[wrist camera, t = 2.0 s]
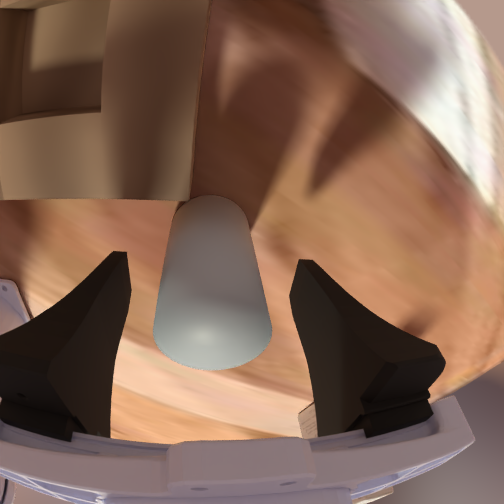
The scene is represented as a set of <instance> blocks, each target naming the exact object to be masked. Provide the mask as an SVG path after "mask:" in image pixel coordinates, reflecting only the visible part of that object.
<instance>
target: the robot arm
mask: <svg viewBox="0 0 504 504" xmlns="http://www.w3.org/2000/svg"><path fill="white" fill-rule="evenodd" d="M131 291H132V289H131V282H130V275H129V267H128V259H127V252H120V251H113V252H112V253H111V254H110V255H109V256H107V257H106V258H105V259H104V260H103V261H102V262H101V263H100V264H99V265H98V266H97V267H96V268H95V269H94V270H93V271H92V272H91V273H90V274H89V275H88V276H87V277H86V278H85V279H84V280H83V281H82V282H81V283H80V284H79V285H78V286H77V287H75V288H74V289H73V290H72V291H71V292H70V293H69V294H68V295H66V296H65V297H64V298H63V299H61V300H60V301H59V302H57V303H56V304H55V305H53V306H52V307H50V308H49V309H47V310H46V311H44V312H43V313H41V314H40V315H38V316H37V317H35V318H33V319H32V320H31V319H30V317H29V315H28V312H27V310H26V308H25V305H24V303H23V301H22V298H21V296H20V293H19V291H18V288H17V286H16V284H15V283H14V282H13V281H11V280H5V279H0V504H13V502H14V498H15V493H16V483H18V484H21V485H23V486H26V487H28V488H31V489H33V490H36V491H39V492H41V493H44V494H47V495H50V496H53V497H56V498H59V499H62V500H65V501H69V502H72V503H76V504H353V503H352V500H353V499H356V498H360V497H363V496H366V495H369V494H372V493H374V492H377V491H380V490H383V489H385V488H388V487H391V486H393V485H396V484H398V483H401V482H403V481H406V480H408V479H410V478H413V477H415V476H417V475H420V474H422V473H424V472H426V471H429V470H431V469H433V468H435V467H437V466H439V465H441V464H443V463H445V462H446V461H448V460H449V459H451V458H452V457H454V456H455V455H457V454H458V453H459V452H461V451H462V450H464V449H465V448H466V447H468V446H469V445H471V444H472V443H474V442H475V438H474V436H473V433H472V431H471V429H470V427H469V425H468V423H467V420H466V418H465V416H464V414H463V412H462V410H461V408H460V406H459V404H458V402H457V400H456V398H455V396H450V397H447V398H444V399H441V400H438V401H436V402H434V403H432V404H431V405H430V404H429V402H428V400H427V399H429V398H430V393H429V391H428V388H429V387H430V386H431V385H432V384H433V383H434V382H435V381H436V379H437V378H438V377H439V376H440V375H441V373H442V372H443V370H444V368H445V364H446V361H445V359H444V357H443V356H442V354H441V352H440V350H439V349H438V347H437V345H435V344H432V343H430V342H427V341H425V340H422V339H419V338H417V337H415V336H413V335H411V334H408V333H406V332H404V331H402V330H401V329H399V328H397V327H395V326H393V325H392V324H390V323H388V322H387V321H385V320H383V319H382V318H380V317H379V316H377V315H376V314H374V313H373V312H371V311H370V310H369V309H367V308H366V307H364V306H363V305H362V304H361V303H359V302H358V301H357V300H356V299H355V298H353V297H352V296H351V295H350V294H349V293H348V292H346V291H345V290H344V289H343V288H342V287H341V286H340V285H339V284H338V283H337V282H335V281H334V280H333V279H332V278H331V277H330V276H329V275H328V274H327V273H326V272H325V271H324V270H323V269H322V268H321V267H320V266H319V265H318V264H317V263H315V262H314V261H313V260H305V259H299V261H298V265H297V268H296V272H295V276H294V280H293V283H292V287H291V291H290V294H289V297H290V304H291V309H292V315H293V318H294V322H295V325H296V328H297V331H298V334H299V337H300V340H301V343H302V346H303V350H304V353H305V356H306V359H307V363H308V368H309V373H310V378H311V384H312V390H313V397H314V404H315V413H316V422H317V434H318V437H316V438H309V439H302V438H299V437H277V438H265V439H249V440H216V441H205V440H200V441H184V442H181V443H177V444H174V445H173V444H158V443H146V442H136V441H127V440H119V439H112V438H110V416H111V395H112V383H113V374H114V366H115V359H116V354H117V350H118V346H119V343H120V339H121V335H122V332H123V328H124V324H125V321H126V317H127V314H128V310H129V304H130V297H131Z"/></svg>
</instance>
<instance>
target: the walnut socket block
mask: <svg viewBox="0 0 504 504" xmlns="http://www.w3.org/2000/svg"><path fill="white" fill-rule="evenodd" d="M211 4H212V0H0V200H23V199H137V200H169V201H189V198H190V191H191V184H192V178H193V167H194V152H195V139H196V127H197V116H198V105H199V95H200V86H201V77H202V68H203V60H204V52H205V44H206V37H207V30H208V23H209V17H210V10H211Z"/></svg>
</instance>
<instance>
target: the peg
mask: <svg viewBox="0 0 504 504" xmlns="http://www.w3.org/2000/svg"><path fill="white" fill-rule="evenodd" d="M153 336H154V340H155V342H156V344H157V346H158V348H159V349H160V350H161V351H162V352H163V353H164V354H165V355H166V356H167V357H168V358H170V359H171V360H173V361H175V362H177V363H179V364H181V365H184V366H187V367H190V368H195V369H201V370H223V369H229V368H233V367H237V366H240V365H243V364H245V363H247V362H249V361H251V360H253V359H254V358H256V357H257V356H258V355H260V354H261V353H262V352H263V351H264V350H265V348H266V347H267V345H268V344H269V342H270V339H271V336H272V325H271V320H270V316H269V312H268V307H267V303H266V299H265V294H264V290H263V285H262V281H261V277H260V272H259V268H258V264H257V259H256V255H255V251H254V246H253V242H252V237H251V233H250V229H249V224H248V220H247V217H246V215H245V213H244V212H243V210H242V209H241V208H240V207H239V206H238V205H237V204H236V203H234V202H233V201H231V200H229V199H227V198H225V197H221V196H217V195H204V196H199V197H196V198H193V199H191V200H189V201H187V202H186V203H184V204H183V205H182V206H181V207H180V208H179V209H178V211H177V212H176V214H175V215H174V217H173V220H172V224H171V229H170V234H169V239H168V244H167V249H166V254H165V259H164V265H163V270H162V276H161V282H160V287H159V294H158V300H157V306H156V313H155V319H154V326H153Z"/></svg>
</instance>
